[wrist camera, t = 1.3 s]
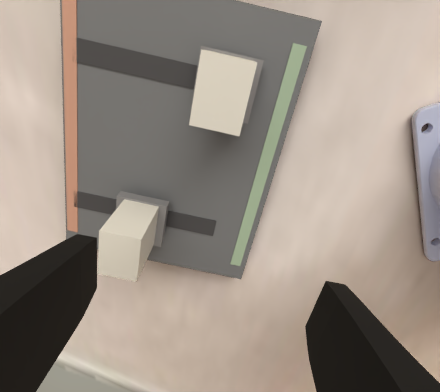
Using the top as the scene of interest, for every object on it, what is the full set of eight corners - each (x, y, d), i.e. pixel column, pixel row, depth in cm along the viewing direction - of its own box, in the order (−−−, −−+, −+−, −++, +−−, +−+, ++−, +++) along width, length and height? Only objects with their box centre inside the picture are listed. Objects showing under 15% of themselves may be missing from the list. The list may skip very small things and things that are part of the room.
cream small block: (262, 60, 12) (270, 61, 9) (247, 120, 14) (249, 141, 10) (202, 46, 12) (188, 42, 9) (192, 108, 13) (177, 125, 10)
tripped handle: (169, 201, 16) (150, 239, 12) (163, 241, 17) (144, 285, 14) (121, 190, 16) (89, 226, 12) (118, 231, 17) (89, 274, 13)
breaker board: (313, 24, 13) (322, 21, 12) (241, 263, 19) (241, 279, 18) (77, -33, 13) (58, -43, 12) (78, 229, 19) (66, 243, 18)
